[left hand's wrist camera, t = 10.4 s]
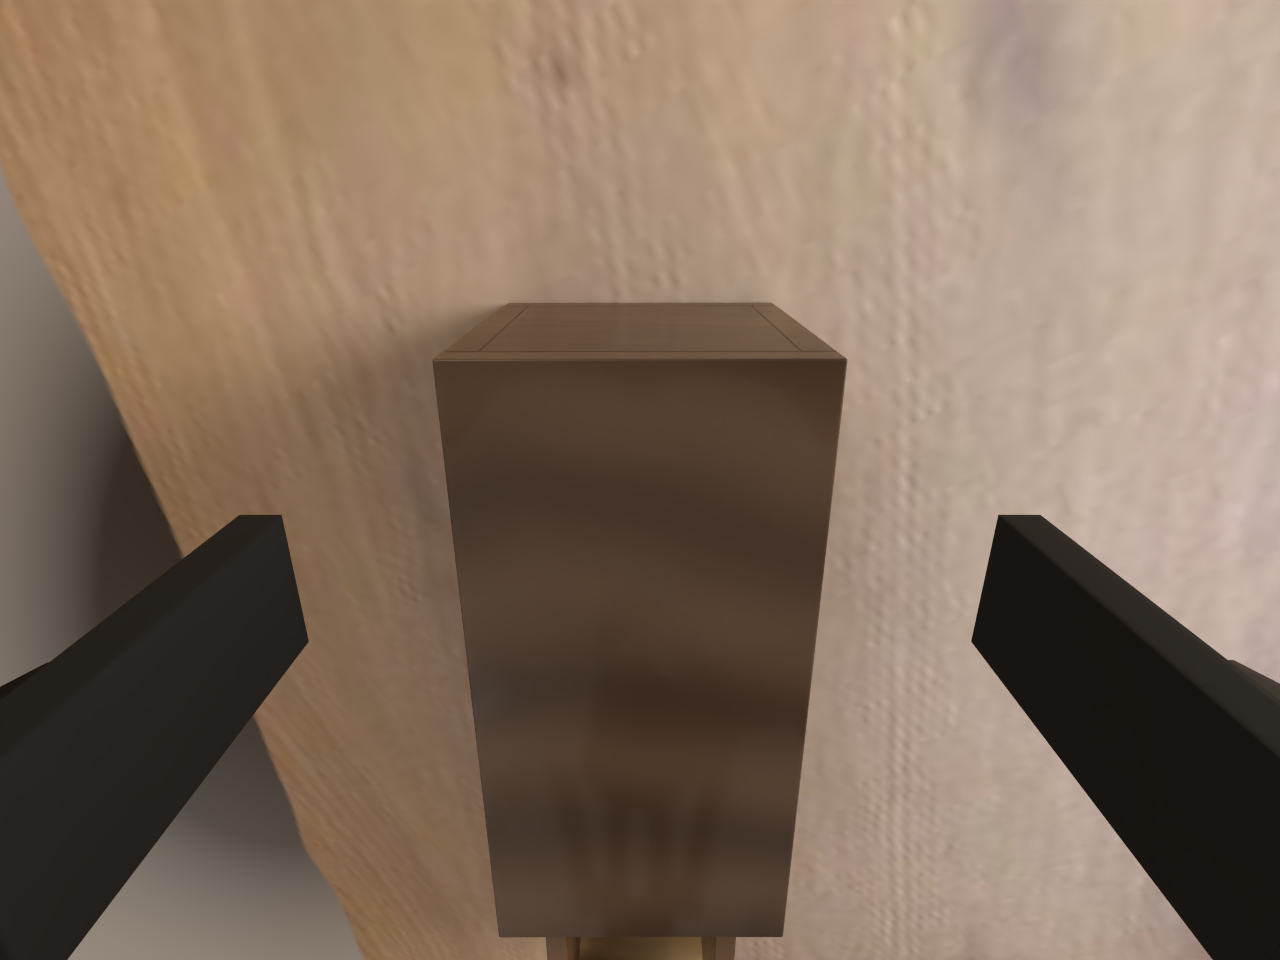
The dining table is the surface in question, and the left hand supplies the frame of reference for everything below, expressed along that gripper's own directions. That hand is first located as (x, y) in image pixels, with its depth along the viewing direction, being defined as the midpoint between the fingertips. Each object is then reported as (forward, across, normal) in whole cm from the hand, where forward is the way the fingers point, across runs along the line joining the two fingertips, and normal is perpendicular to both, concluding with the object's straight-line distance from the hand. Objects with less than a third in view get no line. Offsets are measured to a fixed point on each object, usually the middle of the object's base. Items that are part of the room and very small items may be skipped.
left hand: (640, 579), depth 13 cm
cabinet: (+16, 0, -8) cm, 18 cm away
